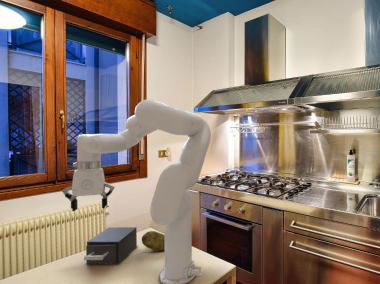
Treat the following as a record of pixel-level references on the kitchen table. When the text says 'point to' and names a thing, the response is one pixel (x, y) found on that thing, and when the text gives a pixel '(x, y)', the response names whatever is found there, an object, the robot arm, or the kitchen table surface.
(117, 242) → the dark gray cabinet
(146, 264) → the kitchen table surface
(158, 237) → the potato
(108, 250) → the handled dark box
